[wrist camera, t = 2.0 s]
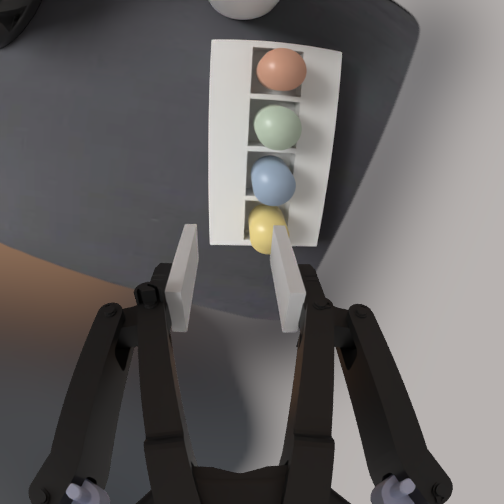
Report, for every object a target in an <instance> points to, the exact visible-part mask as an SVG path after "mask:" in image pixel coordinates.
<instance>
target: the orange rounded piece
mask: <svg viewBox="0 0 504 504" xmlns="http://www.w3.org/2000/svg"><path fill="white" fill-rule="evenodd" d="M306 73H307V68H306V64H305V61H304V60H303V58H302V57H301V56H300V55H299V54H298V53H297V52H295V51H293V50H291V49H287V48H277V49H273V50H271V51H269V52H268V53H266V54H265V55H264V56H263V58H262V59H261V60H260V61H259V63H258V65H257V68H256V75H257V78H258V80H259V82H260V83H261V84H262V85H263V86H264V87H266V88H268V89H270V90H275V91H289V90H292V89H295V88H297V87H298V86H299V85H301V84H302V82H303V81H304V79H305V77H306Z"/></svg>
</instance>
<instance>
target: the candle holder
mask: <svg viewBox="0 0 504 504" xmlns="http://www.w3.org/2000/svg"><path fill="white" fill-rule="evenodd" d="M208 1H209V3H210V4H211V6H212V7H213V8H214V9H215V10H216V11H217V12H218V13H220V14H222V15H224V16H226V17H228V18H232V19H237V20H249V19H255V18H258V17H261V16H263V15H265V14H267V13H268V12H270V11H271V10H272V9H273V8H274V7H275V6H276V5H277V3H278V2H279V1H280V0H208Z"/></svg>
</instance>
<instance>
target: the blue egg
mask: <svg viewBox="0 0 504 504" xmlns="http://www.w3.org/2000/svg"><path fill="white" fill-rule="evenodd" d="M251 180H252V186H253V192H254V194H255V196H256V198H257V199H258V200H259V201H260V202H261V203H263V204H265V205H268V206H279V205H282V204H284V203H286V202H287V201H289V200H290V199H291V197H292V196H293V194H294V192H295V188H296V182H295V179H294V176H293V175H292V173H291V171H290V170H289V168H288V167H287V165H286V163H285V162H284V161H283V160H282V159H281V158H279V157H276V156H272V155H268V156H263V157H261V158H259V159H258V160H257V161H256V162H255V163H254V164H253V166H252V168H251Z"/></svg>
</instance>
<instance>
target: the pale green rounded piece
mask: <svg viewBox="0 0 504 504" xmlns="http://www.w3.org/2000/svg"><path fill="white" fill-rule="evenodd" d="M253 126H254V130H255V132H256V134H257V136H258V139H259V140H260V142H261V143H262V144H263V145H264V146H266V147H267V148H269V149H272V150H285V149H288V148H290V147H292V146H293V145H294V144H296V142H297V141H298V140H299V138H300V136H301V131H302V126H301V122H300V119H299V117H298V116H297V115H296V114H295V113H294V112H293V111H292V110H290V109H288V108H285V107H283V106H280V105H276V104H270V105H266V106H264V107H262V108H261V109H259V110H258V111H257V113H256V114H255V116H254V120H253Z"/></svg>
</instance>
